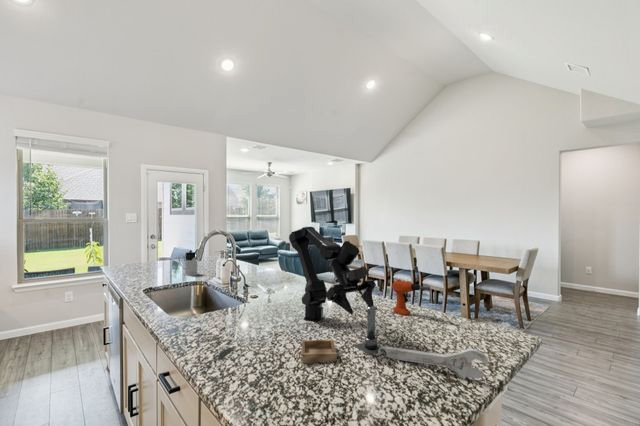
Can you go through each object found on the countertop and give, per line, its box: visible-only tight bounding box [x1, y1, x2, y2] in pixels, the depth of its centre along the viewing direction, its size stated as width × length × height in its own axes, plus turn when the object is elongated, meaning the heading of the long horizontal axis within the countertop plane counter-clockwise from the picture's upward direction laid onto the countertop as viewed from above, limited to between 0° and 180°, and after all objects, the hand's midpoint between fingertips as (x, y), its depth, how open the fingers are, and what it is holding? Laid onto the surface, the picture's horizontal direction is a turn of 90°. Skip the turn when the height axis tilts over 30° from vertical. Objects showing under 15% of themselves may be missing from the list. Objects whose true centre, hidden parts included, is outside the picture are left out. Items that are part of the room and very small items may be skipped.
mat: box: [353, 342, 386, 356], centre depth 100 cm, size 8×8×1 cm
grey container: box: [178, 251, 199, 277], centre depth 217 cm, size 9×14×15 cm, turn 80°
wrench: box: [377, 345, 489, 381], centre depth 87 cm, size 8×2×30 cm
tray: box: [301, 339, 338, 364], centre depth 95 cm, size 10×10×3 cm
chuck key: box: [364, 305, 379, 350], centre depth 100 cm, size 4×4×13 cm
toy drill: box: [391, 279, 431, 317], centre depth 133 cm, size 5×19×15 cm, turn 42°
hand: (362, 311), depth 103 cm, fingers open, 9 cm apart
